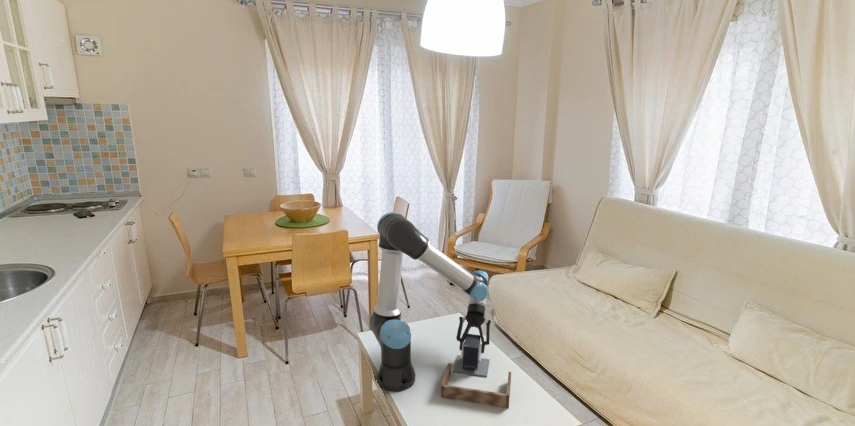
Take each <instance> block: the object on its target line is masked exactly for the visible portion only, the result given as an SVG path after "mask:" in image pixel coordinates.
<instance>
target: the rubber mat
mask: <svg viewBox="0 0 855 426" xmlns="http://www.w3.org/2000/svg"><path fill="white" fill-rule="evenodd" d="M490 360H491V359H489V358H482V357H481V361H480V362H479V363H478V368H477V370H470V369H463V359H461V354H457V356H456V360H455V363H454V366H453V370H452V373H454V374H455V373H456V374H461V375H462V374H463V375H469V376H470V375H471V376H476V377H482V378H483V377H484V378H487V377H488V372H489V367H490Z"/></svg>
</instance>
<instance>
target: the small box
mask: <svg viewBox="0 0 855 426" xmlns="http://www.w3.org/2000/svg"><path fill="white" fill-rule="evenodd" d="M480 344H481V337H480V334H473V333H468V334H467V335H466V338H465V340H464V346H463V369H470V370H477V368H478V363H479V361H478V357H479V348H480Z"/></svg>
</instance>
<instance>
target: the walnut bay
mask: <svg viewBox="0 0 855 426" xmlns="http://www.w3.org/2000/svg"><path fill="white" fill-rule="evenodd" d="M451 374H452V363H450V362H449V363H447V367H446V370H445V373H444V376H443V378H442V382H441V385H440V398H442V399H448V400H453V401H454V400H456V401H461V402H467V403H472V404H473V403H474V404H479V405H484V406H485V405H487V406H493V407H499V408H500V407H501V408H505V409H506V408H507V409H509V408H510V407H509V405H510V395H511V394H510V393H511V382H512V381H511V380H512V371H508V374H507V376H508V377H507V388H506V393H504V392H503V393H501V392H497V391H496V392H495V391H488V390H483V389H475V388H469V387H462V386H457V385H456V386H455V385H449V382H450V379H451Z"/></svg>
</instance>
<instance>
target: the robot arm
mask: <svg viewBox="0 0 855 426" xmlns="http://www.w3.org/2000/svg"><path fill="white" fill-rule="evenodd" d="M376 226H377V227H376V228H377V233H378V234H379V235H378V238H379V239H378V247H379V248H380V250H381V261H380V272H379V283H378V296H377V304H376V305H375V306H374V307H373V309H372V310H373V312H372V313H371V314H370V317H369V327H370V329H371V332H372V334H373V335H374V337H375V339H376V341H377V342H378V345H379V347H380V355H381V356H380V358H381V361H380V362H381V363H380V366H379V369H378V372H377V376H376V377H377V385H378V386H379V387H380V388H381V389H383V390H386V391H389V392H402V391H405V390H408V389H409V388H411V387H412V386H413V385H414V384H415V382H416V371H415V369H414V366H413V362H412V354H411V353H412V350H411V349H412V333H411V327H410V326H409V324H408V323H406V322H405V321H404V320H403V321H402V308H401V307H400V306H399V301H400V291H401V290H400V289H401V281H402V270H403V260H404V259H403V258H404V254H405V255H406V256H408V257H410V258H411V259H412V260H418V261H420V262H421V263H423V264H424V265H426V266H427V268H430V269H431V270H433V272H434V271H435V273H437V274H438V275H440V276H441V277H442V278H444V279H445V280H447V281H448V282H450V283H452V284H453V285H454V286H456V287H457V288H458V289H460V290H461V291H462V292H464V293H465V294H467V295H468V304H467V312H466V315H465V316H463V317H462V316H459V317H458V318H459V324H458V328H457V333H456V336H455V337H456V340H457V342H459V347H458V348H459V351H461V353H460V355H461V359H463V346H464V342H465V338H466V335H467V334H469V331H470V329H471V328H475V329H476V328H477V329H478V333H479V335H480V348H479V357H478V361H479V362H480V361H481V358H482V354H485V347H486V346H490V334H491V333H490V328H491V324H492V320H491V319H486V317H485V314H486V306H487V305H486V304H487V303H486V302H487V297H488V295H489V287H488V285H489V275H488V273H487V272H486V271H484V270H481V269H479V270H473V271H469V270H468V269H465V268H463V267H462V266H461V265H460V264H458V263H457V262H455V261H454V260H453V259H452V258H450V257H449V256H448V255H446V254H445V253H444V252H442V251H441V250H440V249H438V248H436V247H435V246H434V245H433V244H432V243H430V239H429V238H428V237H427V236H425V234H423V233H422V232H421V231H420V230H419V229H418V228H417V227H416V226H415V225H414V224H413V223H412V222H411V221H410V220H408V219H407V218H405V216H404V215H403V214H401V213H398V212H396V211H395V212H393V211H392V212H386V213H385V214H383V215H382V216H381V217H380V218H379V219H378V222H377V224H376ZM465 321H466V322H467V325H466V328H465V329H464V331H463V325H464V323H465ZM483 324H485V326H486V330H485V332H486V335H485V336H486V337H485V338H484V333H483V329H482V325H483ZM462 331H463V332H462Z"/></svg>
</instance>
